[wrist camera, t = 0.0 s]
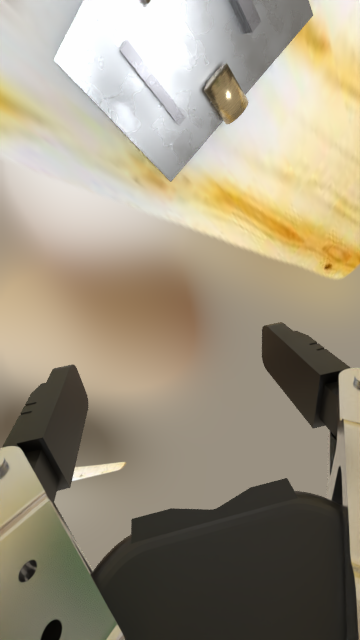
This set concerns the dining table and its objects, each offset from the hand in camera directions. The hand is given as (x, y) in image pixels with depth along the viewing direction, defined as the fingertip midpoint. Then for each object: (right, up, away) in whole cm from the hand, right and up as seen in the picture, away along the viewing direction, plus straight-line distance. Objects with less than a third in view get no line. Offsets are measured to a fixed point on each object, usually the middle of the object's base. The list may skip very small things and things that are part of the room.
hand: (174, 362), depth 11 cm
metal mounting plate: (+1, +31, +15) cm, 34 cm away
